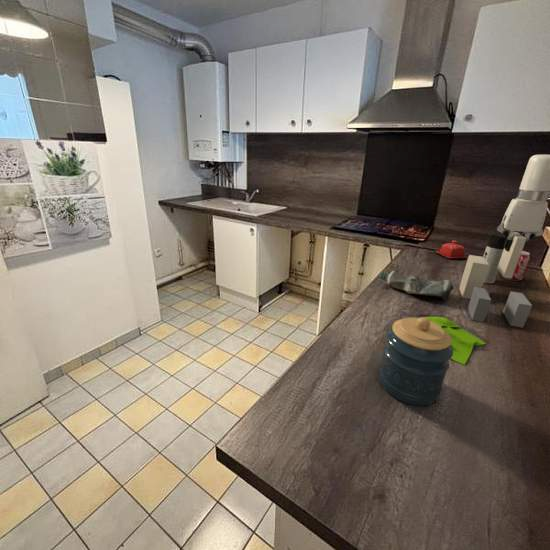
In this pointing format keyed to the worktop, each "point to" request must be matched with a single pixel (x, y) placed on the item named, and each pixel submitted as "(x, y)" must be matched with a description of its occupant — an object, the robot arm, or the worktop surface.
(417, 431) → the worktop surface
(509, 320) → the pair of grey pillars
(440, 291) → the crushed plastic bottle
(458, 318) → the worktop surface
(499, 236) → the spray can
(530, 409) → the worktop surface
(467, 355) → the cloth
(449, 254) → the butter dish
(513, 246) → the cream book
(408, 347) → the canister
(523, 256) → the soda can
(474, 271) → the beige rectangular block
